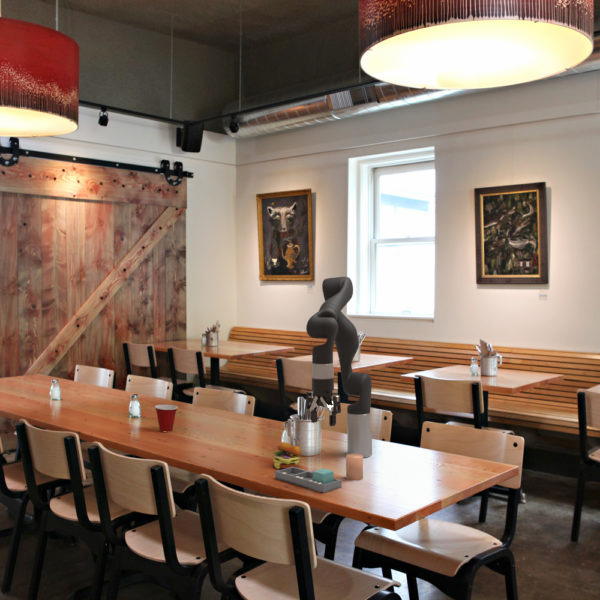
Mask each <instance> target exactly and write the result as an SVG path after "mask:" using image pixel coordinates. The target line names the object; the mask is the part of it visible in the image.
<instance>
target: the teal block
mask: <svg viewBox="0 0 600 600" xmlns="http://www.w3.org/2000/svg"><path fill="white" fill-rule="evenodd" d="M312 472H313V481H317V482H318V483H322V484H327V483H330V482H334V478H335V473H334V472H335V471H333V470H331V469H327V468H320V469H316V470H313V471H312Z"/></svg>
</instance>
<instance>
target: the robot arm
mask: <svg viewBox="0 0 600 600" xmlns="http://www.w3.org/2000/svg"><path fill="white" fill-rule="evenodd" d="M321 288H322V290H321V291H322V294H323V298H324V302H323V303H322V304H321V306H320V307H319V310H318V311H317V312H316V313H314V314H313V315H311V316H310V318H309V319H308V320H307V323H306V328H305V329H306V330H305V331H306V334H307V335H308V337H310V338H312V339H326V341H325V343H322V344H317V345H315V346H313V347H312V349H311V360H312V363H311V391H306V396H305V408H306V410H309V411H310V420H311V423H314V424H315V423H318V411H317V410H318V409H319V407H322V408H325V410H327V412H328V414H329V419H328V420H329V424H328V425H329V427H335V426H336V424H337V415H338V414H342V413H341V412H342V407H341V402H342V401H341V395H340V394H337V395H334V394H333V391H334V390H335V370H334V369H335V368H334V348H336V352H337V357H338V360H339V369H340V376H341V384H342V389H343V391H344V393H345V394H346V395H348V396H353V397H354V396H356V397H359V400H358V401H357V402H354V403H350V404H348V405H347V407H346V414H347V415H346V416H347V417H346V421H347V422H346V423H347V425H346V427H347V430H346V431H347V433H346V434H347V435H346V437H347V439H346V442H347V444H346V445H347V446H346V447H347V454H346V455H348V454H361V455H363V459H364V458H368V457H370V456H371V455H373V438H372V437H373V432H372V430H371V406H372V389H373V387H372V385H373V384H372V378H371V377H372V376H371V375H370V374H369V373H365V372H354V371H353V368H352V362H353V360H354V357H355V356H356V353H357V352H358V350H359V346H360V340H359V336H358V331H357V328H356V326H355V324H354V323H353V322H352V321H351V320H350V319H349V318H348V317H347V316H346V315H345V314H344V313H343V312H342V310H343V309H344V308H345V306H346V305H347V304H348V303H349V302H350V301H351V300H352V297H353V295H354V286H353V282H352V279H351V278H350V277H348V276H336V277H328V278H325V279H323V281H322V284H321ZM334 345H335V347H334Z"/></svg>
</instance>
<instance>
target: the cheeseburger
mask: <svg viewBox="0 0 600 600" xmlns="http://www.w3.org/2000/svg"><path fill="white" fill-rule="evenodd" d="M277 450H278V451H275V452H274V456H273V457H274V458H273V459H272V461H273V466H274V467H275V469H277V470H279V469H280V470H281V469H286V468H290V467H296V468H298V465H299V462H300V459H301V458H300V457H302V456H303V454H302V450H301V447H300V446H297V445H295V444H294V445H291V444H290V443H289V442H281V443H279V445H278V446H277Z"/></svg>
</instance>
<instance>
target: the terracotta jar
mask: <svg viewBox="0 0 600 600" xmlns="http://www.w3.org/2000/svg"><path fill="white" fill-rule="evenodd" d="M345 478H347V479H346V480H348V481H353V480H357V481H362V480H363V479H364V458H363V455H361V454H348V455H347V454H346V455H345Z"/></svg>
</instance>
